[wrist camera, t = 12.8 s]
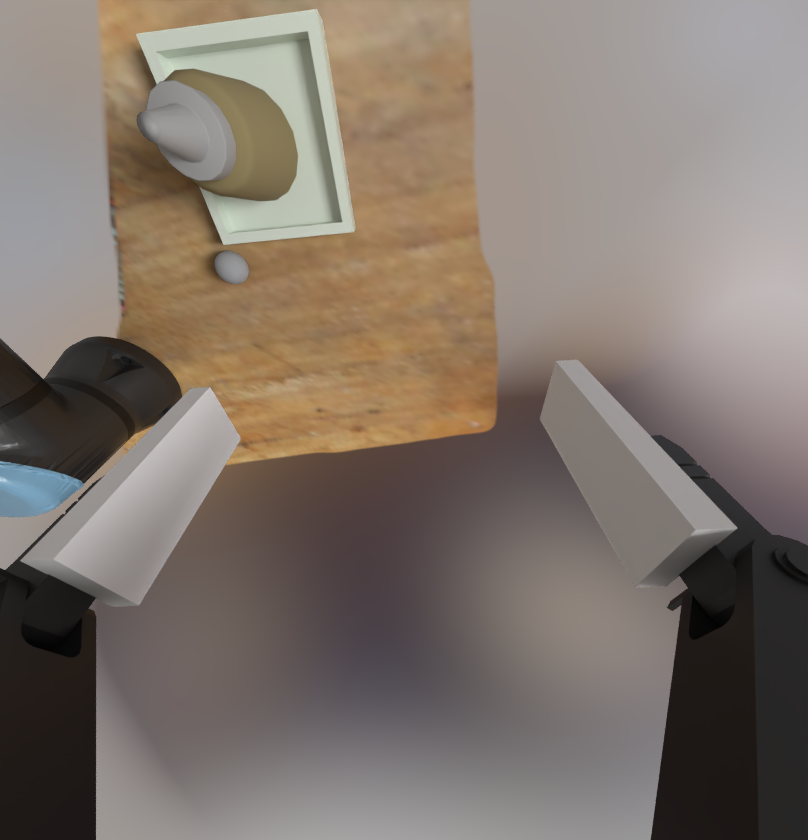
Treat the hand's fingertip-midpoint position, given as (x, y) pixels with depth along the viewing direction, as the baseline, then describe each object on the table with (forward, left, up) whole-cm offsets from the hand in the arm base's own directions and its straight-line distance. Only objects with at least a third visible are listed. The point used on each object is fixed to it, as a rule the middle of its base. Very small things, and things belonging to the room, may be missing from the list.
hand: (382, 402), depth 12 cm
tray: (-12, +10, -32) cm, 35 cm away
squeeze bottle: (-12, +10, -31) cm, 35 cm away
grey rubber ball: (-20, 0, -32) cm, 37 cm away
